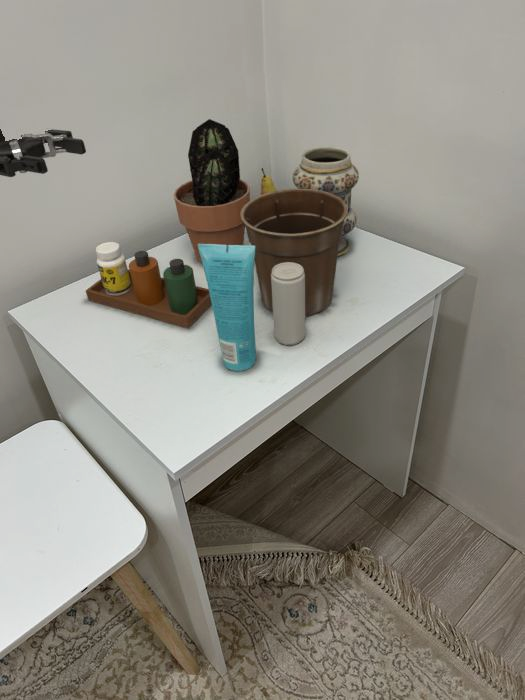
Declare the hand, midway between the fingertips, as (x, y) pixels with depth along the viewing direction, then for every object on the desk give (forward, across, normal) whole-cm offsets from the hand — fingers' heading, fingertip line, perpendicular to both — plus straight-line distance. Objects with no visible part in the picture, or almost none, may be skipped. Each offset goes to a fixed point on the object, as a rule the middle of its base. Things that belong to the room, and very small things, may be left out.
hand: (64, 156), depth 84 cm
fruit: (+16, -36, -24) cm, 46 cm away
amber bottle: (+11, 0, -23) cm, 26 cm away
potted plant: (+14, -18, -24) cm, 33 cm away
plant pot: (+34, -10, -24) cm, 43 cm away
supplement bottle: (+4, 0, -24) cm, 24 cm away
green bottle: (+18, 0, -23) cm, 30 cm away
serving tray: (+11, 0, -24) cm, 26 cm away
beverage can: (+38, 0, -24) cm, 45 cm away
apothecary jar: (+31, -29, -24) cm, 49 cm away
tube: (+33, +8, -24) cm, 42 cm away
